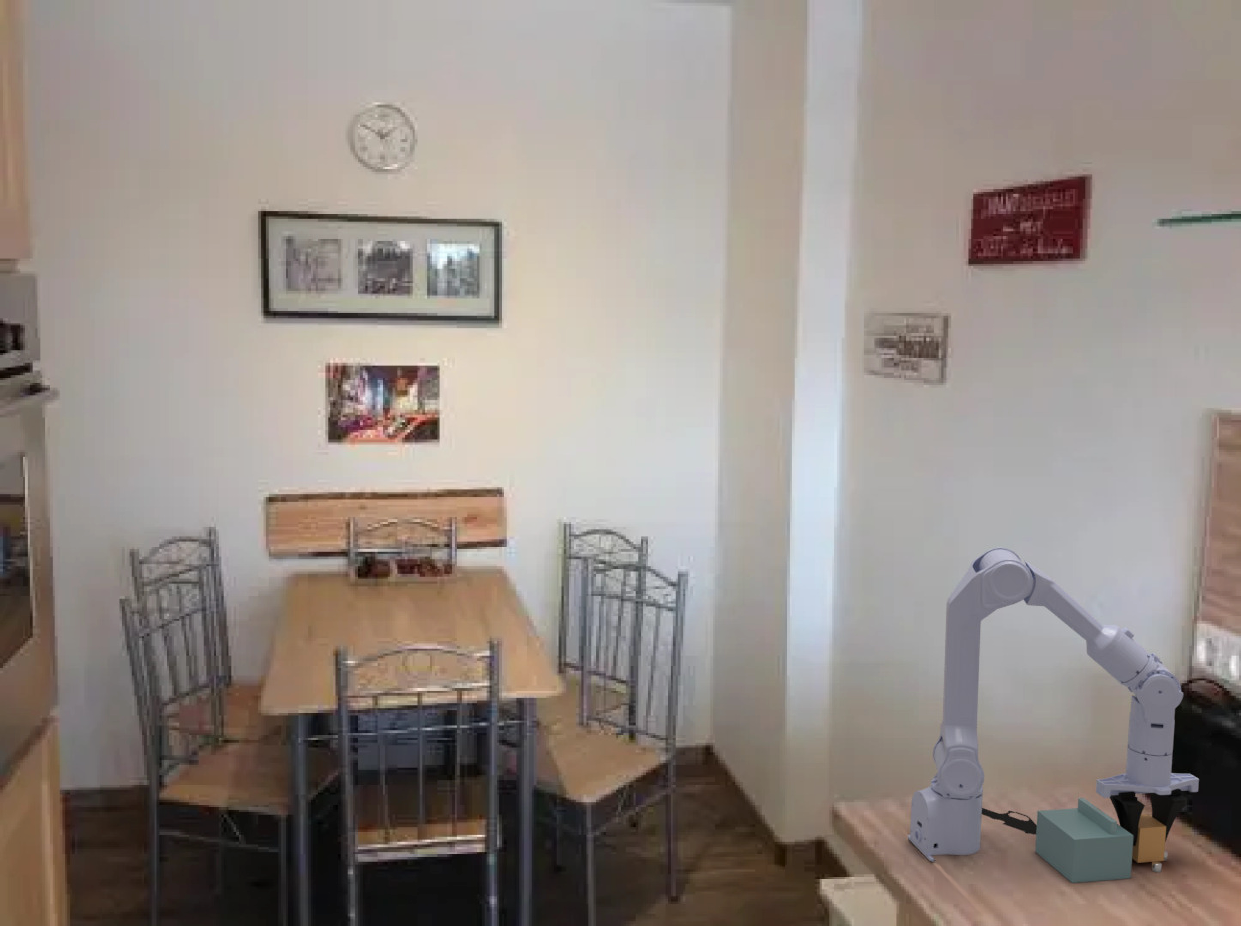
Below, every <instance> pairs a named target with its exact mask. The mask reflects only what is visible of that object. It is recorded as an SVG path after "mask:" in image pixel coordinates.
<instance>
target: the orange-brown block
mask: <svg viewBox="0 0 1241 926" xmlns="http://www.w3.org/2000/svg"><path fill="white" fill-rule="evenodd" d="M1165 837H1166V826H1165V825H1163V824H1162V823H1160V822H1159V821H1157V820H1156V819H1154V818H1153V817H1152V815H1151V814H1141V816H1140V820H1139V825H1138V836H1137V842H1136V845H1135V846H1133V850H1132V860H1133V861H1135V862H1136V863H1137V864H1139V863H1152V862H1153V861H1157V862H1165V861H1164V852H1165V851H1166V850H1165V849H1166V848H1165V847H1166V842H1165Z"/></svg>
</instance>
